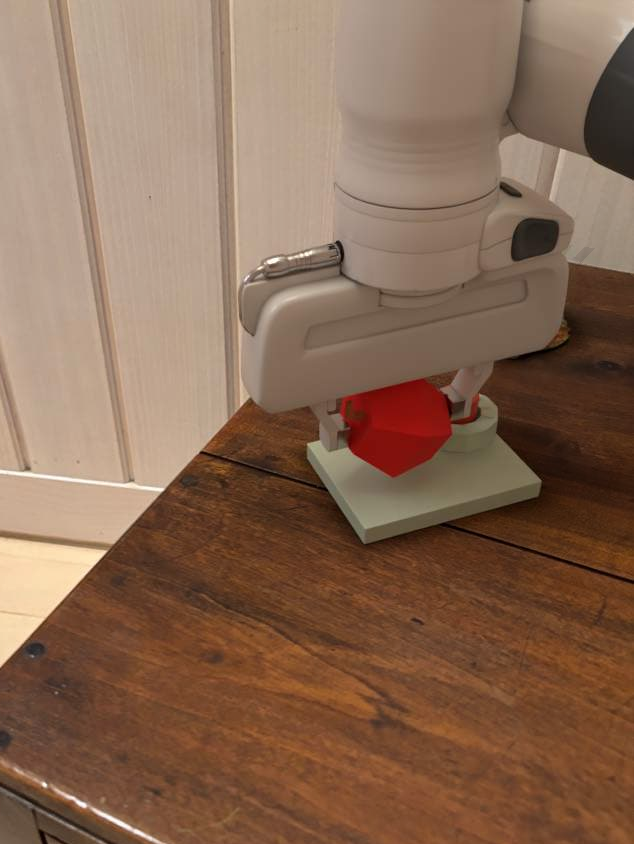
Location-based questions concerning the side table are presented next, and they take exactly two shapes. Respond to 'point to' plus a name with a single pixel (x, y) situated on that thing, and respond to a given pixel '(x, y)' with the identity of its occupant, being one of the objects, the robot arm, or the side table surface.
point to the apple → (397, 425)
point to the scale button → (472, 413)
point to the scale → (428, 481)
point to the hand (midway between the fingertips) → (395, 429)
